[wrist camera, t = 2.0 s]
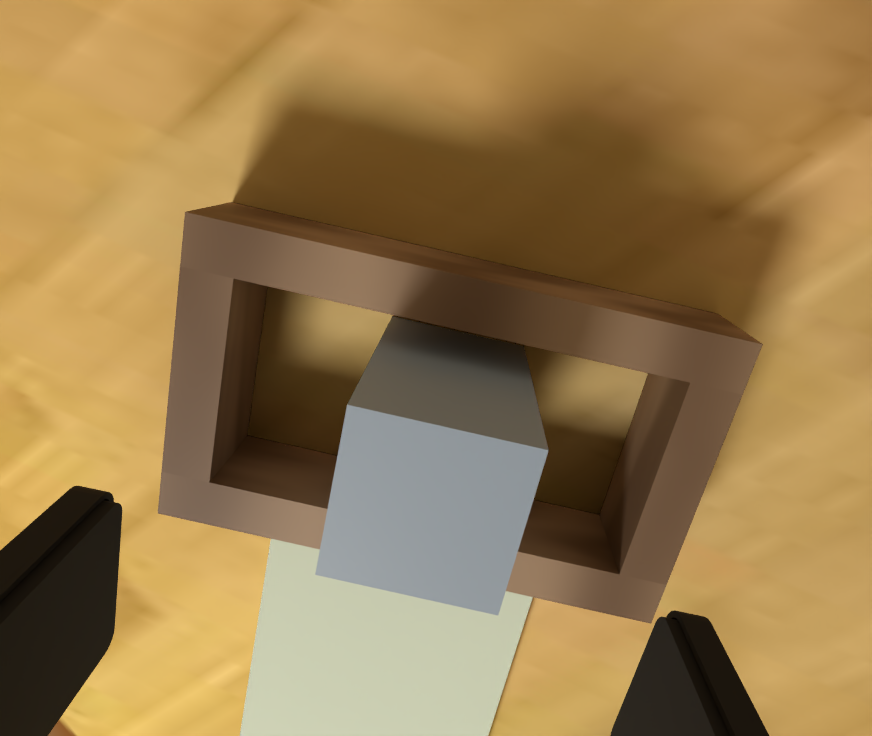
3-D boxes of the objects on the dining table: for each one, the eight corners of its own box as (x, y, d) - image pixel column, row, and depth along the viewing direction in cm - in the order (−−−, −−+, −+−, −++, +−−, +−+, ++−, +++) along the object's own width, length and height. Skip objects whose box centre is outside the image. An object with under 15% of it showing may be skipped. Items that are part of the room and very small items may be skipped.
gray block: (523, 346, 22) (548, 450, 14) (491, 464, 23) (498, 615, 16) (392, 316, 22) (347, 404, 14) (368, 436, 23) (314, 574, 16)
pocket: (717, 313, 21) (762, 344, 18) (627, 558, 24) (651, 623, 21) (231, 202, 21) (184, 211, 18) (202, 463, 24) (157, 513, 21)
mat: (531, 590, 25) (532, 597, 24) (471, 780, 28) (471, 788, 28) (274, 532, 25) (271, 538, 24) (242, 730, 28) (239, 737, 27)
